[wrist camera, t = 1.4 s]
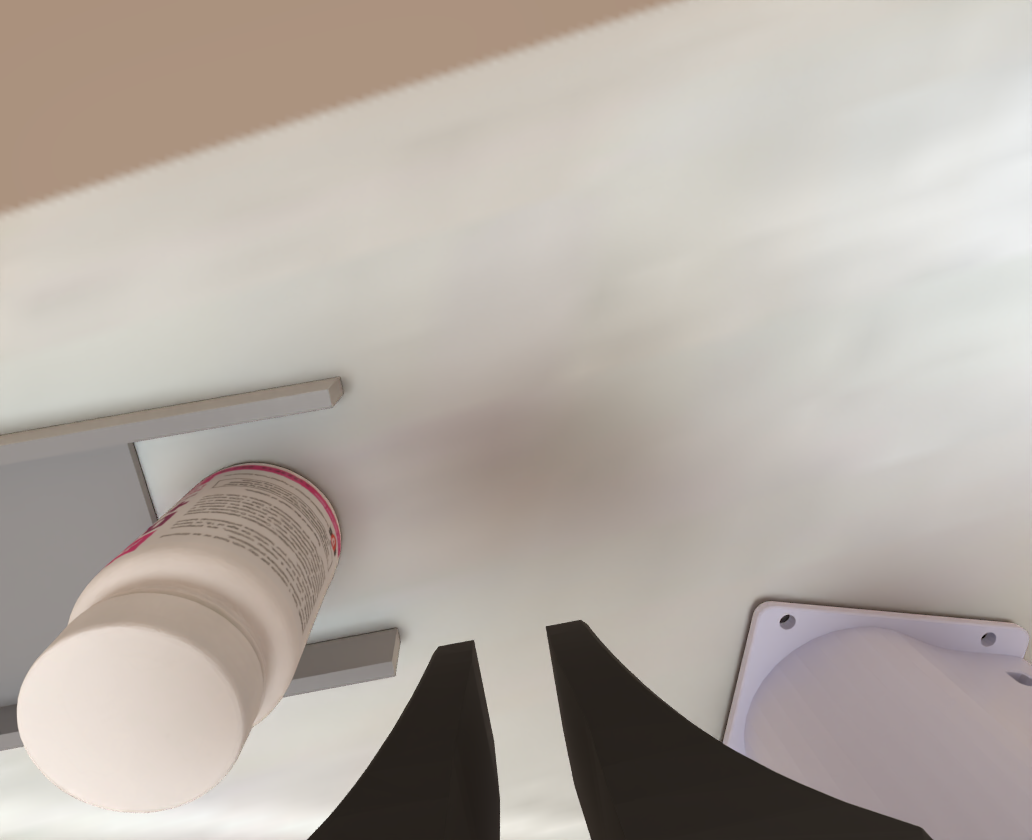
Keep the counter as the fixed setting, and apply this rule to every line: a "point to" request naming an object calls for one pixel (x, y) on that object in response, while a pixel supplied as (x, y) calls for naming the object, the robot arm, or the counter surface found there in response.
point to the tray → (123, 530)
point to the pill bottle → (182, 643)
